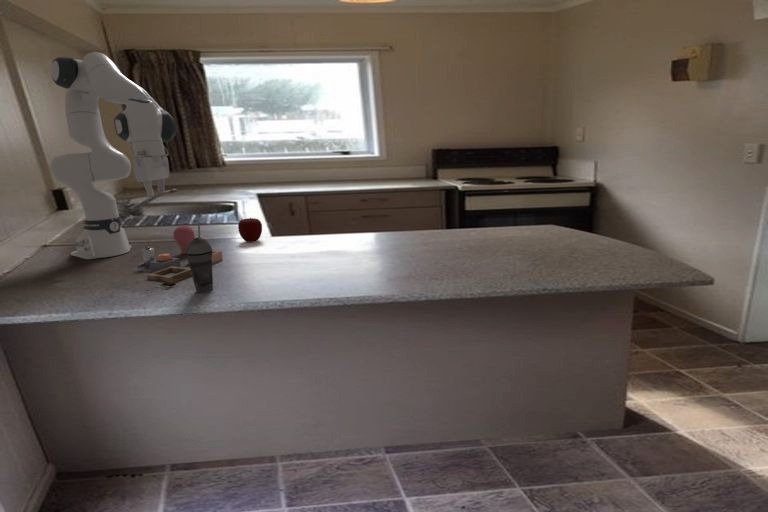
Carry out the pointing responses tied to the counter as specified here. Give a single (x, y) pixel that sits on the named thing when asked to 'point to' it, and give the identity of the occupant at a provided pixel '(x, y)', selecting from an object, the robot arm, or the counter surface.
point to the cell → (148, 256)
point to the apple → (250, 229)
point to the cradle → (159, 265)
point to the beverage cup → (200, 263)
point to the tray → (173, 278)
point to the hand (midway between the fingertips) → (156, 194)
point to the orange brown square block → (215, 256)
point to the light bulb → (183, 236)
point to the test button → (164, 257)
